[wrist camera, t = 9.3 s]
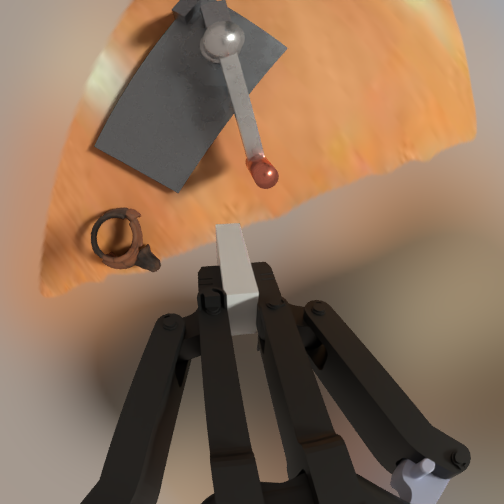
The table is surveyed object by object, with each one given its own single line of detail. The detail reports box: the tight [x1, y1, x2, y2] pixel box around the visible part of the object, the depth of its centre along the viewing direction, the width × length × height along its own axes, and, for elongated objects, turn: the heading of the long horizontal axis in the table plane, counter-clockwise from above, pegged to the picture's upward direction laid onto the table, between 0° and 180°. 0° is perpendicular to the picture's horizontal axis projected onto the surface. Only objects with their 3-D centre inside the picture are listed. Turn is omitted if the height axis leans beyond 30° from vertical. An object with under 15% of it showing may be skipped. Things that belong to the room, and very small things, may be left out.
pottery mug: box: [91, 208, 161, 272], centre depth 41 cm, size 12×9×8 cm
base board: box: [94, 0, 287, 193], centre depth 30 cm, size 25×14×7 cm, turn 143°
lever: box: [200, 0, 278, 189], centre depth 28 cm, size 22×4×9 cm, turn 14°
